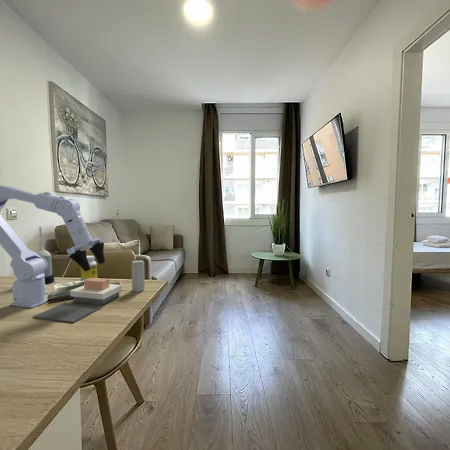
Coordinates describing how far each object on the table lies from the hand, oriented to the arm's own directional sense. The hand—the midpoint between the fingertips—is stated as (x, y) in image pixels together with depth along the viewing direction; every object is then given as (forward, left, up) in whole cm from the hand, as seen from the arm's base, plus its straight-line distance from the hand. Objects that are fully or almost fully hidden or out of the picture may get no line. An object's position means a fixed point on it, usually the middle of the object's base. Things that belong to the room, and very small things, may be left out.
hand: (95, 266), depth 96 cm
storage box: (-1, +2, -13) cm, 13 cm away
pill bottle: (-20, +20, -13) cm, 31 cm away
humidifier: (-39, +14, -13) cm, 44 cm away
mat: (-1, -11, -13) cm, 17 cm away
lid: (-1, +2, -10) cm, 11 cm away
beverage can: (+8, +15, -13) cm, 21 cm away
